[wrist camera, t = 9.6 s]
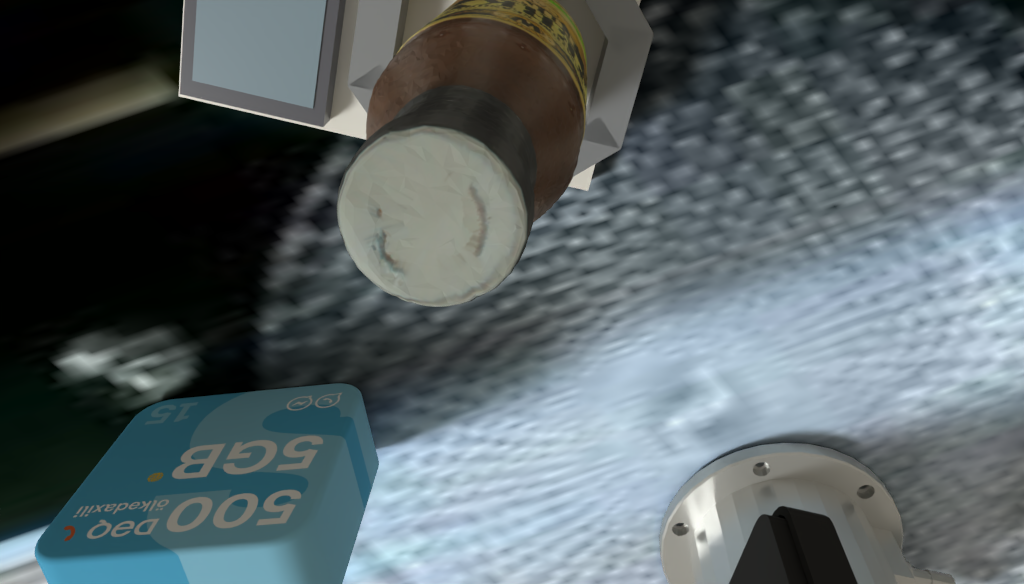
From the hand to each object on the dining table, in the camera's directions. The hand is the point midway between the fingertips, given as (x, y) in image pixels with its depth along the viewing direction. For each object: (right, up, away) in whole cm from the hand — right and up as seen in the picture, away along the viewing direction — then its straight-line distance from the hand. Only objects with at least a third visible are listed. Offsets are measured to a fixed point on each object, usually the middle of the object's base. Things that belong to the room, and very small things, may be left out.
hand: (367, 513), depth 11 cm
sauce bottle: (+2, +12, +25) cm, 28 cm away
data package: (-11, -4, +36) cm, 38 cm away
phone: (-8, +15, +25) cm, 30 cm away
